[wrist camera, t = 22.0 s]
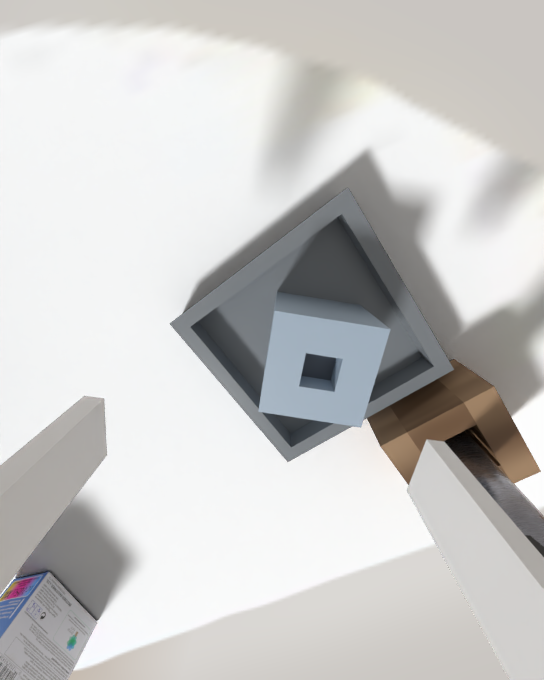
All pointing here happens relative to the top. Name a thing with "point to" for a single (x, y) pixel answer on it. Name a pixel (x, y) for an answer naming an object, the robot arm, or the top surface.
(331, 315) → the block
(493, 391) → the go block
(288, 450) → the tray
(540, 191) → the top surface
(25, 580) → the ink cartridge box
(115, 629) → the top surface
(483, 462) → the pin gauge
